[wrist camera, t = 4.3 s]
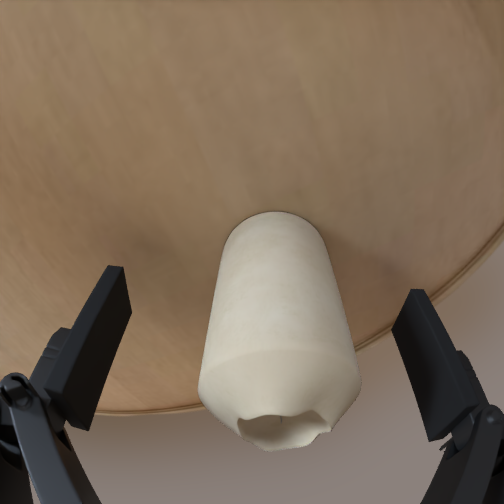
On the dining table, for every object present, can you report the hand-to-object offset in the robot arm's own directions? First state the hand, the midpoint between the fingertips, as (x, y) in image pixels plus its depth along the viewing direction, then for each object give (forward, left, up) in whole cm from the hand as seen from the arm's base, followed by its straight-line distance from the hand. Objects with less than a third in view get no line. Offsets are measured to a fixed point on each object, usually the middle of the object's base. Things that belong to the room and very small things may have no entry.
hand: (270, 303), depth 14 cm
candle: (0, 0, -4) cm, 4 cm away
